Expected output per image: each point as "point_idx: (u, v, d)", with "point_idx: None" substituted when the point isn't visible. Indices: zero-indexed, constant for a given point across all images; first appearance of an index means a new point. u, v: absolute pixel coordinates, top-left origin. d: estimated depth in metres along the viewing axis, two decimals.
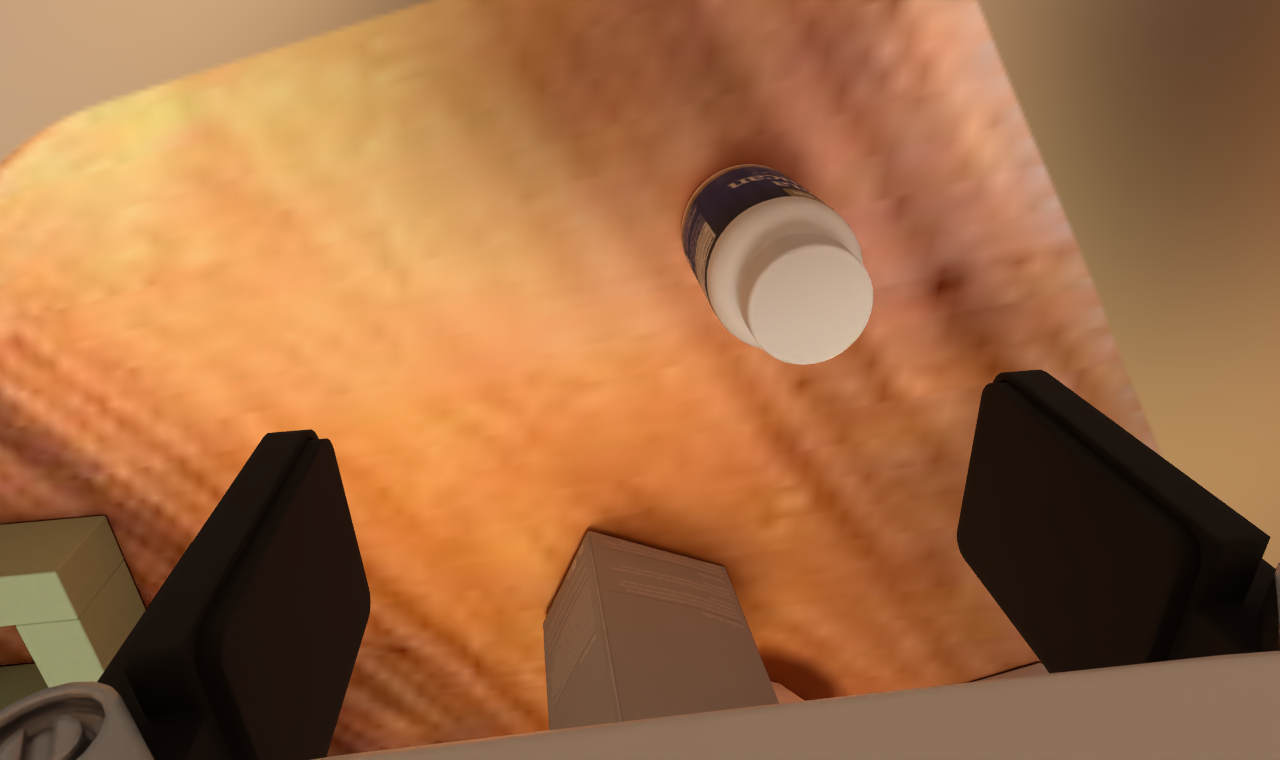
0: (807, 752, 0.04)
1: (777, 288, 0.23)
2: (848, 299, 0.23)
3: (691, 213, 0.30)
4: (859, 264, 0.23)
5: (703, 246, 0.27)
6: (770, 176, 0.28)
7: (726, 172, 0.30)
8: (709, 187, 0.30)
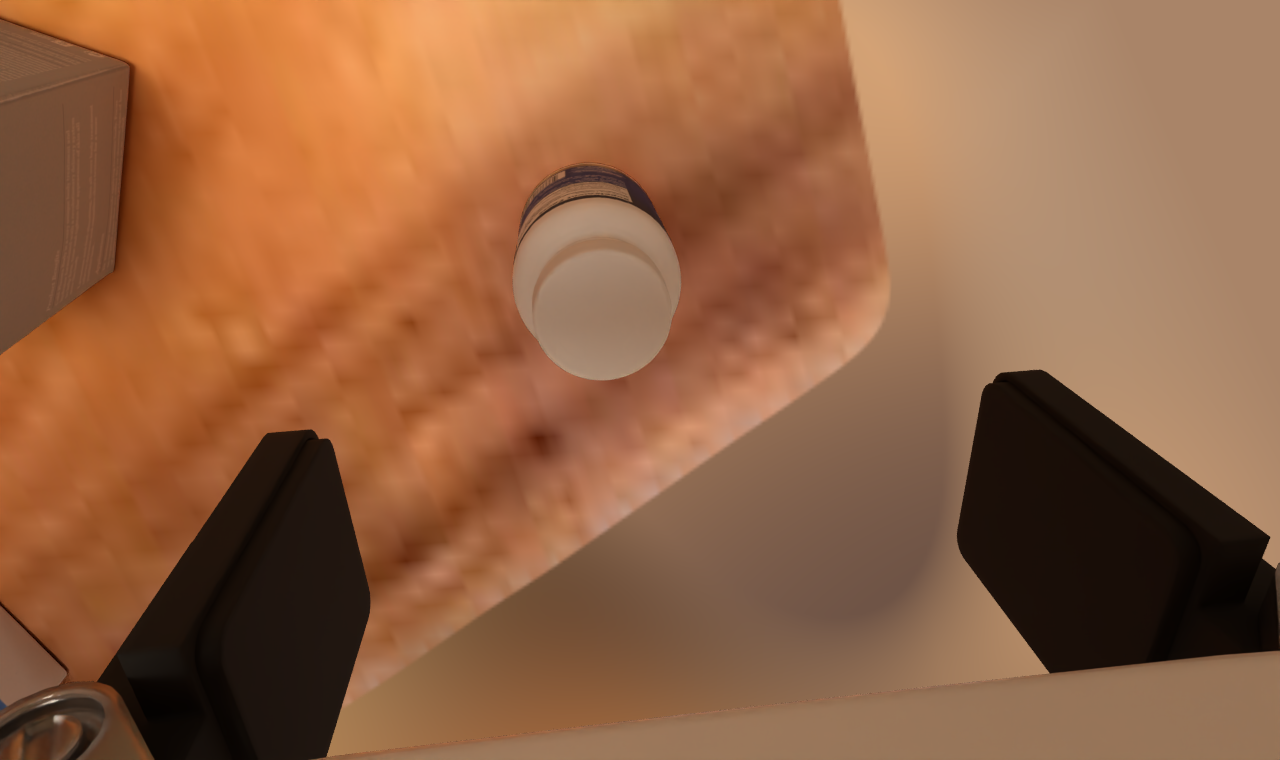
0: (807, 751, 0.04)
1: (622, 278, 0.21)
2: (612, 354, 0.22)
3: (613, 172, 0.28)
4: (652, 357, 0.22)
5: (610, 190, 0.24)
6: None
7: None
8: (641, 189, 0.28)
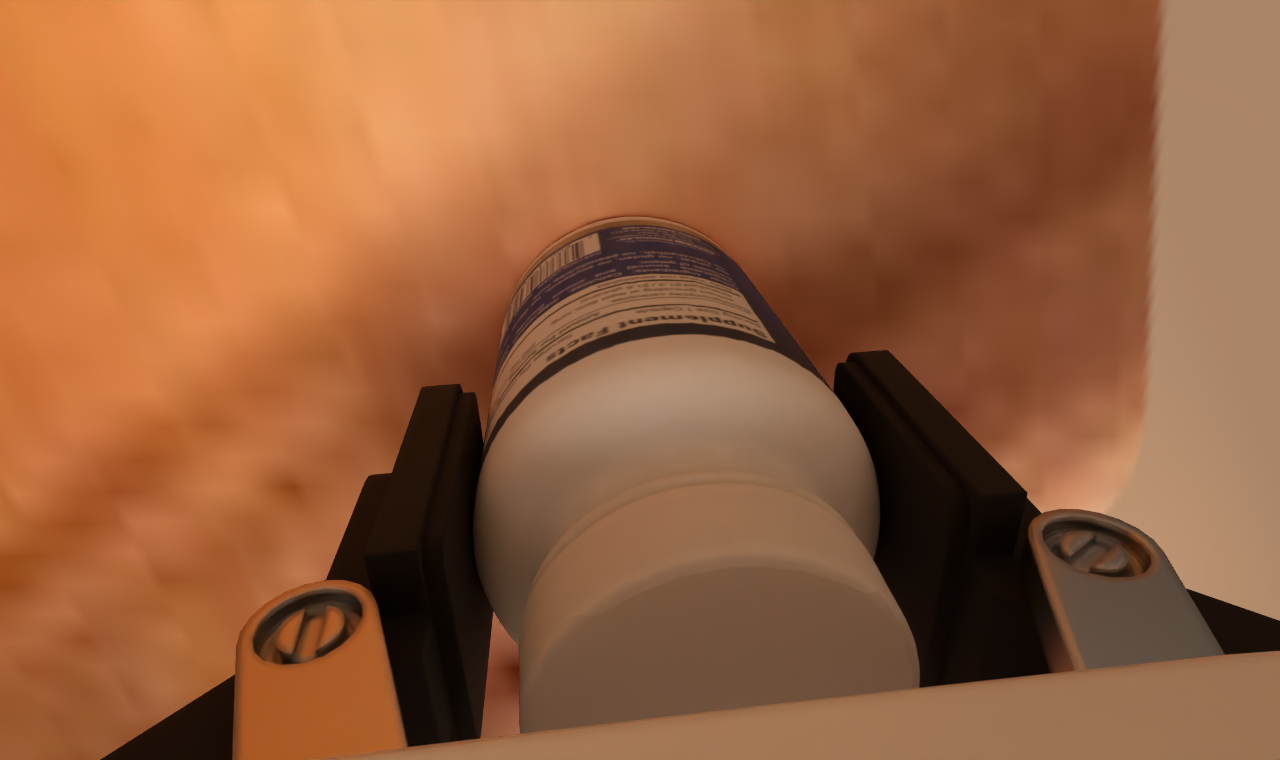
0: (807, 752, 0.04)
1: (798, 625, 0.07)
2: None
3: (696, 242, 0.14)
4: None
5: (714, 303, 0.10)
6: None
7: None
8: (747, 277, 0.14)
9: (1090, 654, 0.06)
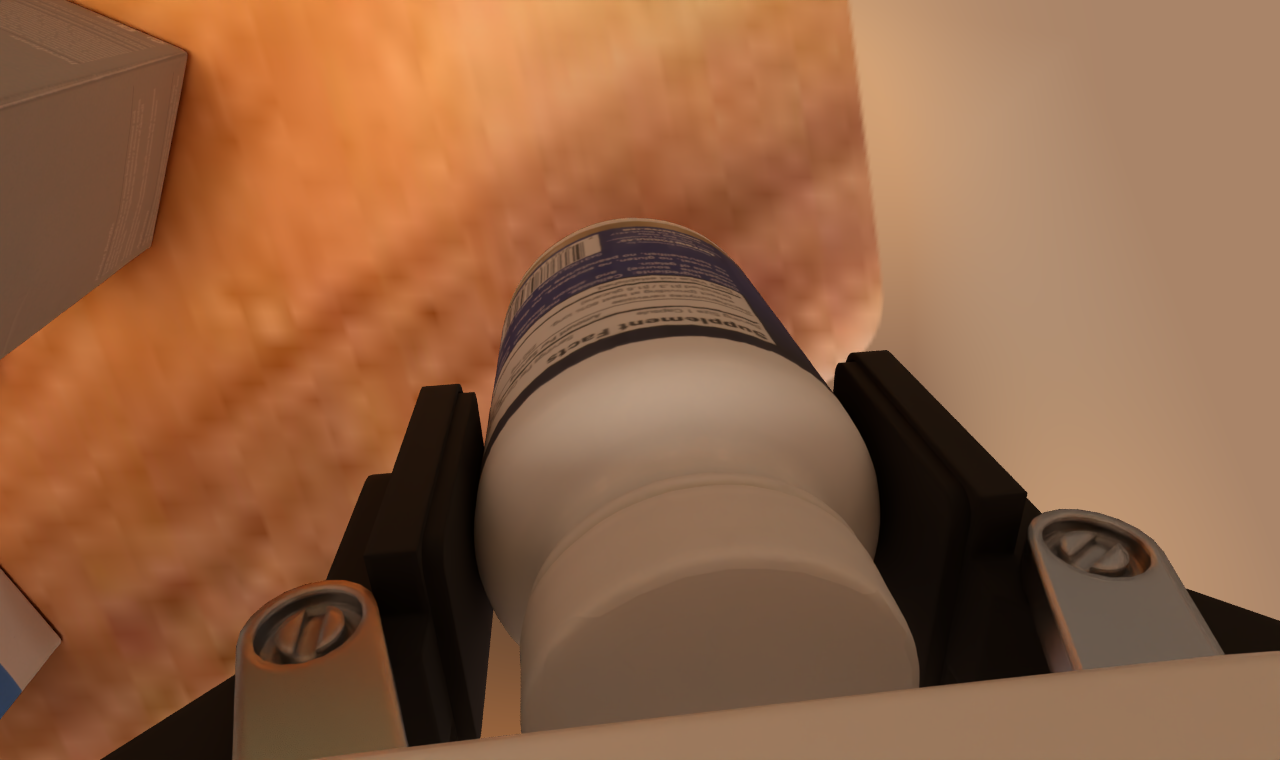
0: (807, 752, 0.04)
1: (798, 626, 0.07)
2: None
3: (696, 244, 0.14)
4: None
5: (715, 304, 0.10)
6: None
7: None
8: (747, 278, 0.14)
9: (1089, 654, 0.06)
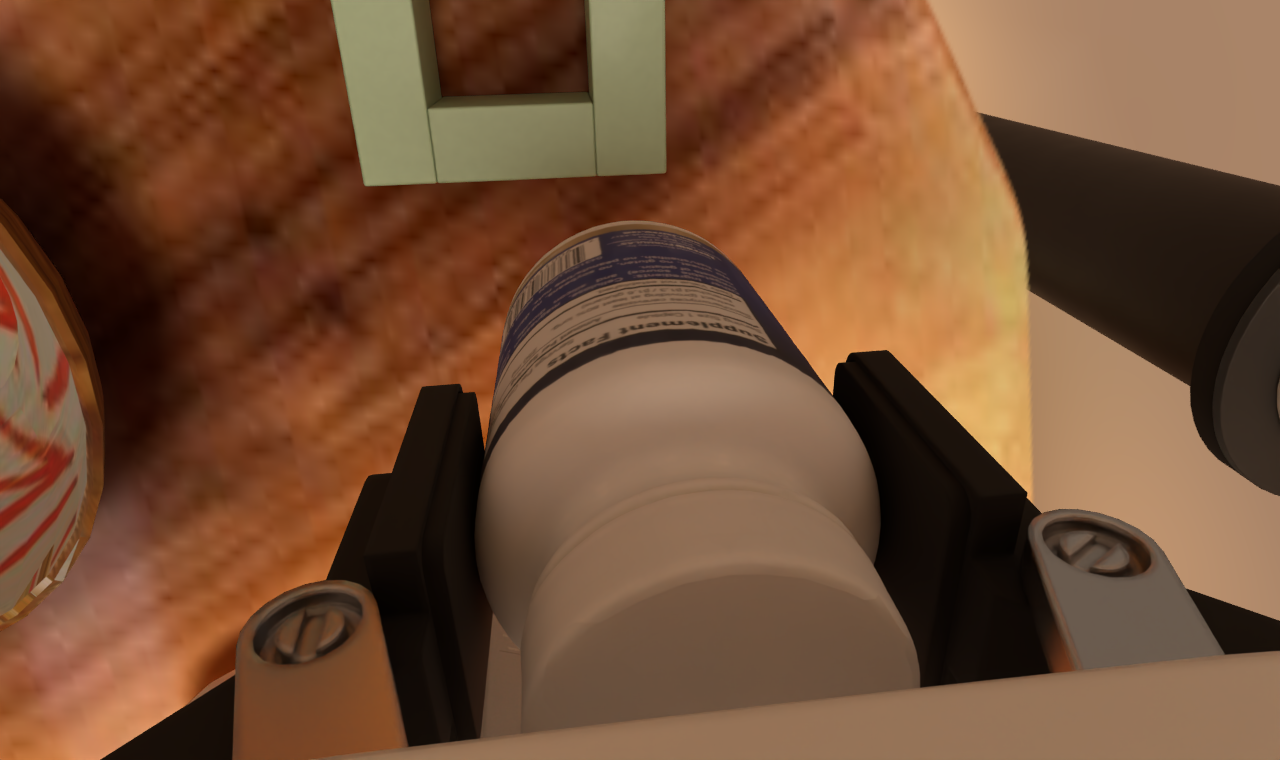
0: (807, 752, 0.04)
1: (800, 631, 0.07)
2: None
3: (697, 247, 0.14)
4: None
5: (715, 308, 0.10)
6: None
7: None
8: None
9: (1089, 654, 0.06)
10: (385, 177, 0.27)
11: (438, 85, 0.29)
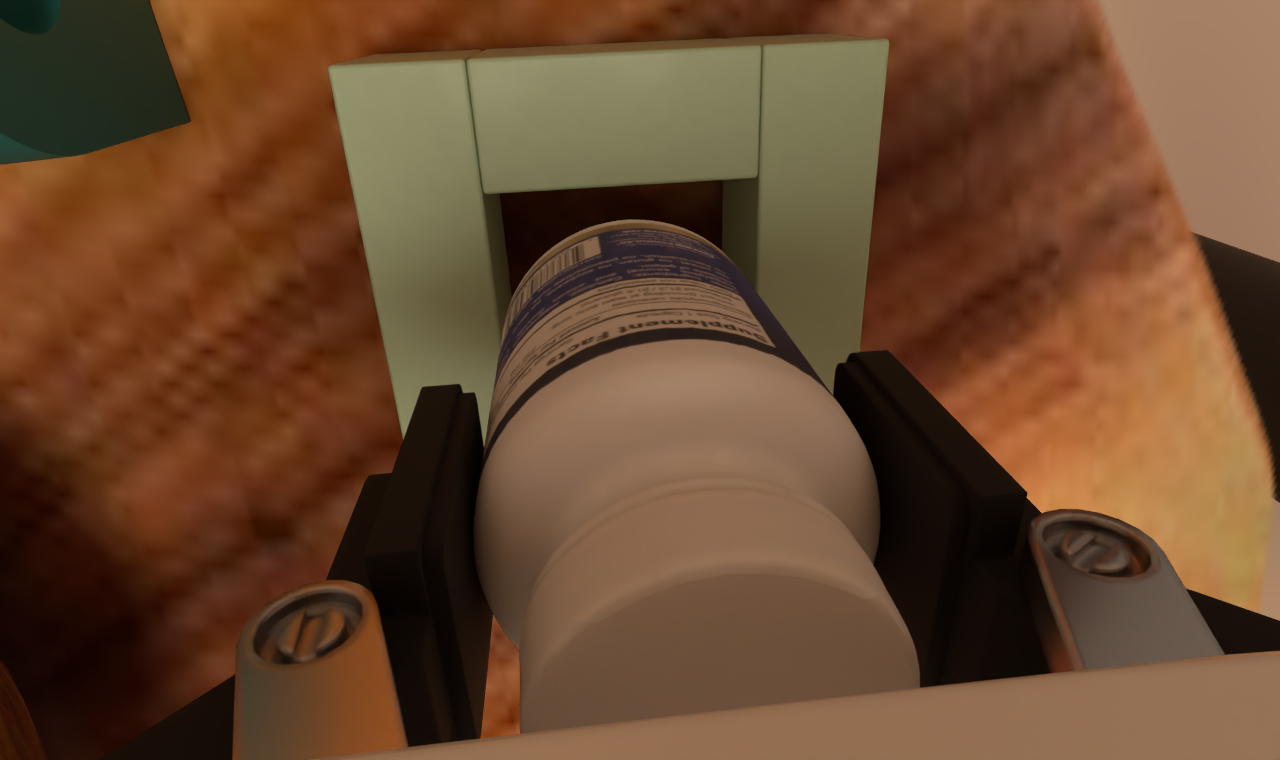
0: (807, 752, 0.04)
1: (798, 631, 0.07)
2: None
3: (696, 246, 0.14)
4: None
5: (715, 307, 0.10)
6: None
7: None
8: (747, 280, 0.14)
9: (1089, 654, 0.06)
10: None
11: None
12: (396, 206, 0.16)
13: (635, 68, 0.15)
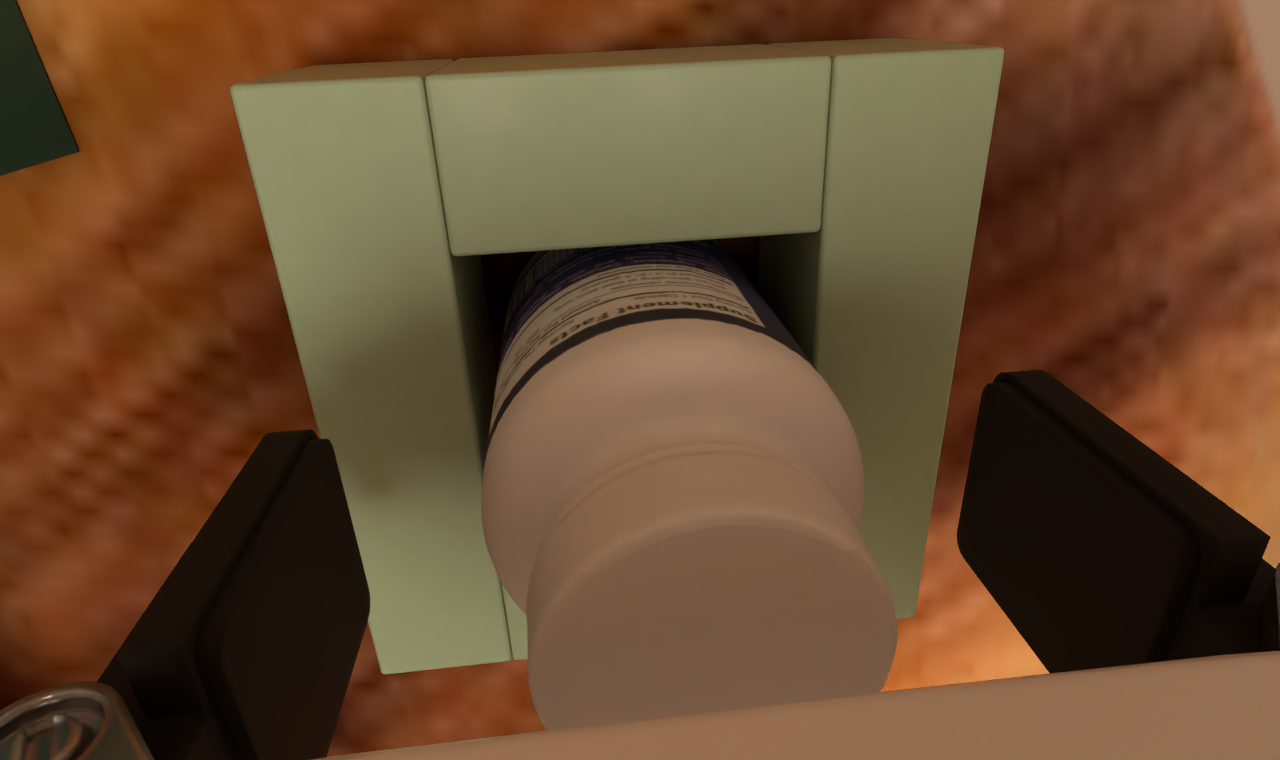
0: (807, 751, 0.04)
1: (784, 580, 0.08)
2: None
3: None
4: None
5: (708, 290, 0.11)
6: None
7: None
8: None
9: None
10: (419, 661, 0.15)
11: None
12: (333, 274, 0.12)
13: (658, 87, 0.11)
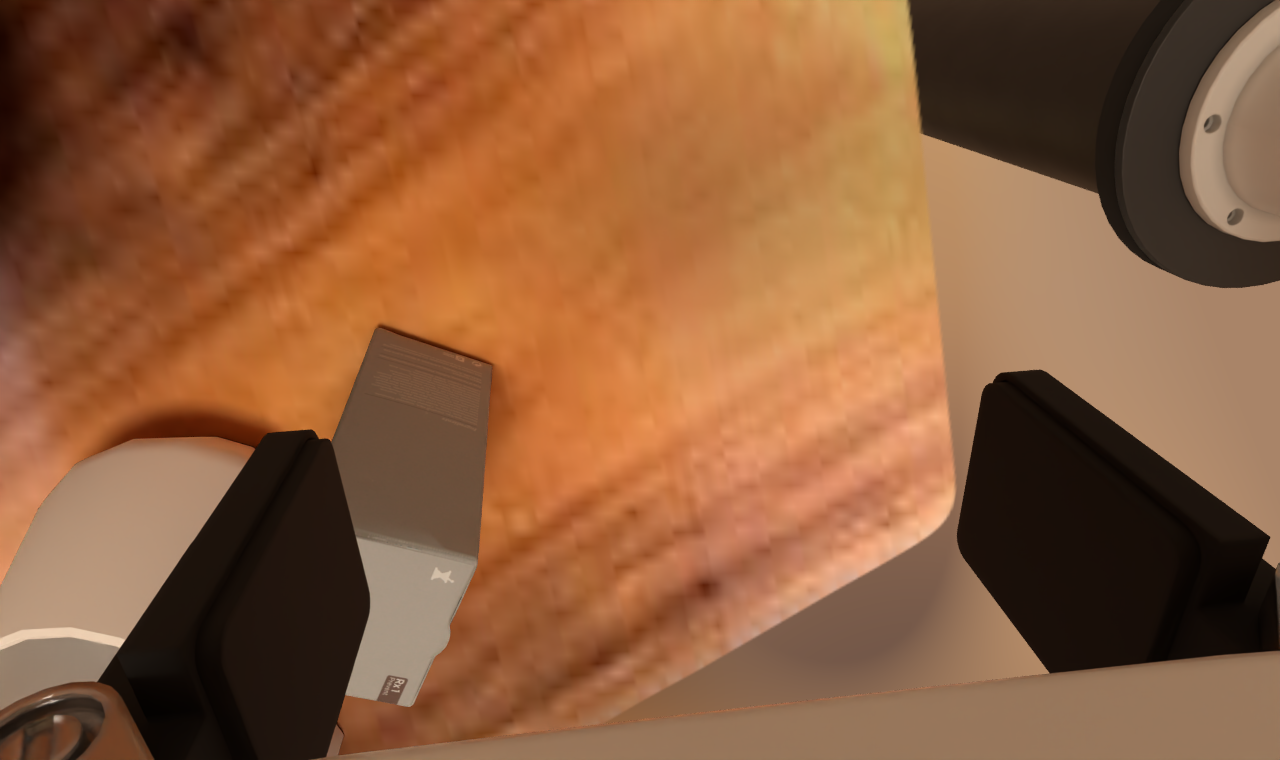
0: (807, 752, 0.04)
1: None
2: None
3: None
4: None
5: None
6: None
7: None
8: None
9: None
10: None
11: None
12: None
13: None
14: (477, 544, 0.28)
